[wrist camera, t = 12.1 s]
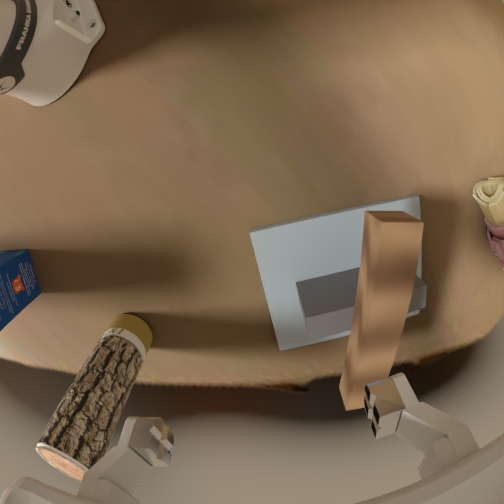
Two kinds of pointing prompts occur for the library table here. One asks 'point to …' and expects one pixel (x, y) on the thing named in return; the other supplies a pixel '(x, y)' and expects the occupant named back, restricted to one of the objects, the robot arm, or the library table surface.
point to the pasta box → (16, 284)
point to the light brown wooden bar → (380, 299)
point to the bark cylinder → (96, 398)
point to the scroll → (492, 212)
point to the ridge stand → (320, 271)
